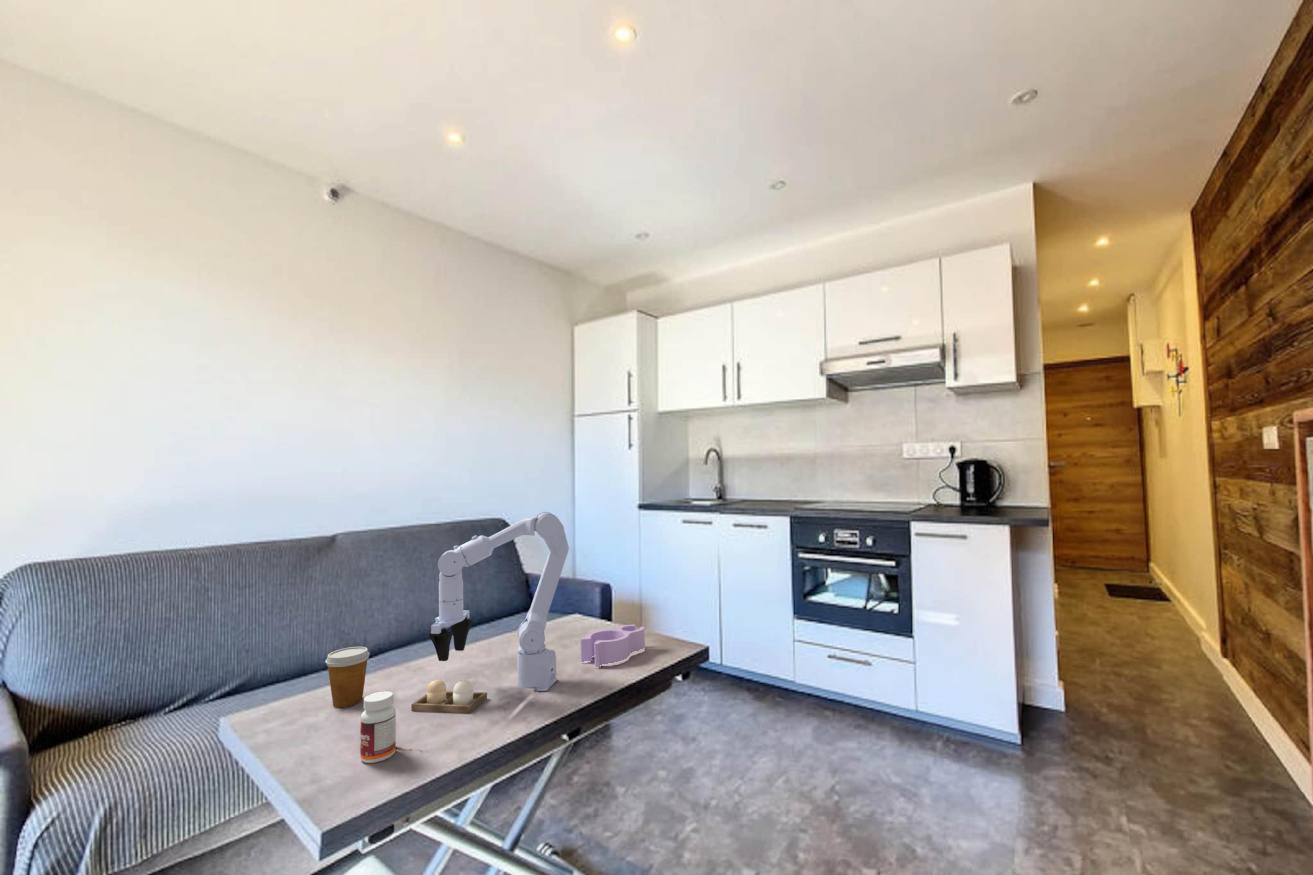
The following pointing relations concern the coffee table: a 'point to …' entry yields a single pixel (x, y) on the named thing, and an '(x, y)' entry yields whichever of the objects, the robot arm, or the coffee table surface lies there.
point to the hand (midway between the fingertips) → (451, 655)
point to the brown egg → (436, 692)
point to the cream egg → (463, 693)
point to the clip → (611, 644)
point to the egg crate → (449, 704)
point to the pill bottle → (378, 728)
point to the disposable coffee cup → (347, 675)
